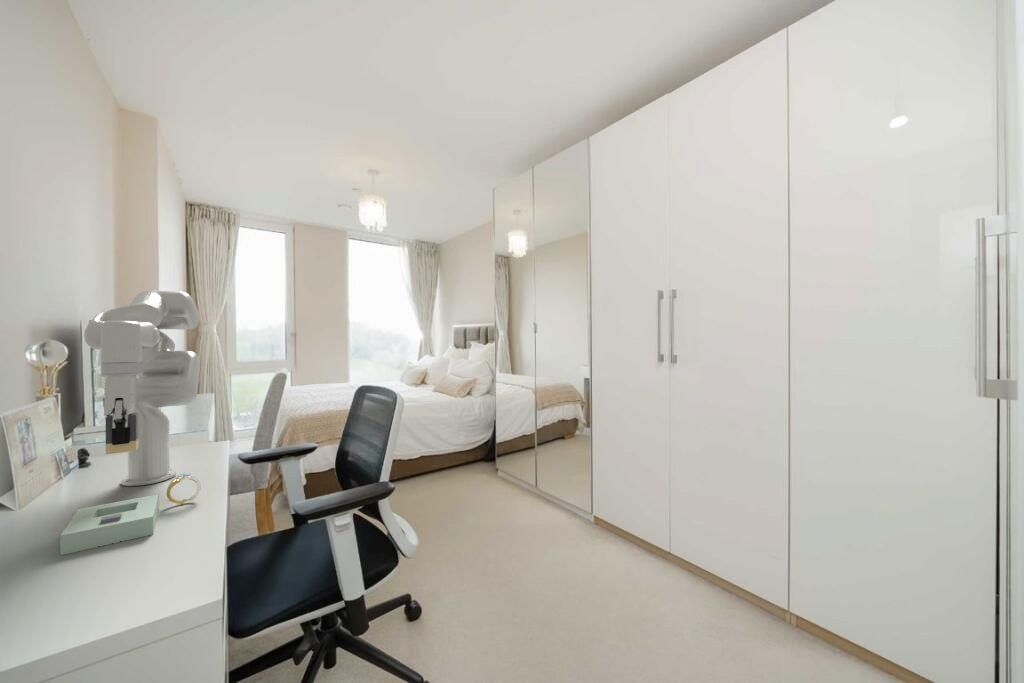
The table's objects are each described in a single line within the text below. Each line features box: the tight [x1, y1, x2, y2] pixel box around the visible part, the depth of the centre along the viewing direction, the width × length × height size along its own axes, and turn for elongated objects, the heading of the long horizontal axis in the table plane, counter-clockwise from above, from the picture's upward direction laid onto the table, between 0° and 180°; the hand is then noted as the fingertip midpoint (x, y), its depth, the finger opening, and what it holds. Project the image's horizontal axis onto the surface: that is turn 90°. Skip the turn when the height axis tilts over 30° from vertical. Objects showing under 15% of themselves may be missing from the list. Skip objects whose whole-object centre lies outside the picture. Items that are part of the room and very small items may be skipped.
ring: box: [166, 472, 202, 505], centre depth 106 cm, size 7×3×8 cm, turn 125°
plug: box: [105, 413, 138, 455], centre depth 102 cm, size 4×6×9 cm
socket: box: [59, 494, 160, 556], centre depth 92 cm, size 16×14×5 cm
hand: (122, 441), depth 102 cm, fingers closed on plug, 4 cm apart
